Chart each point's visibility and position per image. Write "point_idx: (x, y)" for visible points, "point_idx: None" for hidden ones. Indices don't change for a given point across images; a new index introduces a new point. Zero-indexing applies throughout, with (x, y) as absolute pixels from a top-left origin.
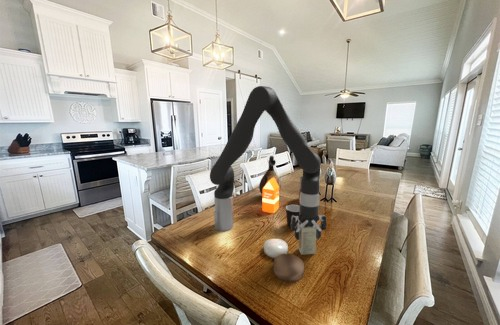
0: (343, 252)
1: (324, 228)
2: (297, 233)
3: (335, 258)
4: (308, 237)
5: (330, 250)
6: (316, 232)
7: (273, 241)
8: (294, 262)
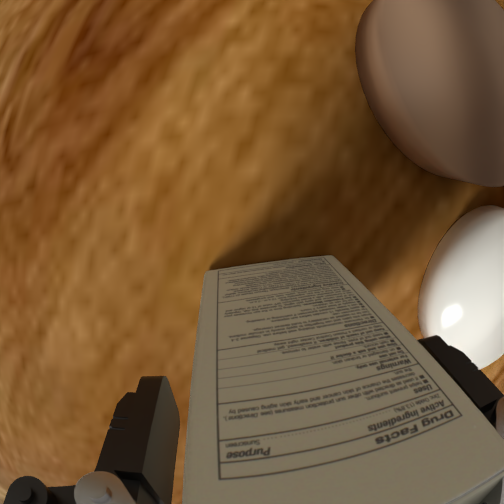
0: (9, 299)
1: (26, 502)
2: (486, 387)
3: (54, 227)
4: (325, 372)
5: (79, 321)
6: (170, 467)
7: (497, 338)
8: (451, 68)
